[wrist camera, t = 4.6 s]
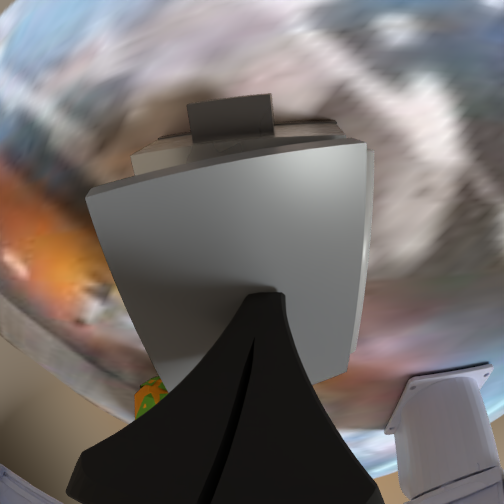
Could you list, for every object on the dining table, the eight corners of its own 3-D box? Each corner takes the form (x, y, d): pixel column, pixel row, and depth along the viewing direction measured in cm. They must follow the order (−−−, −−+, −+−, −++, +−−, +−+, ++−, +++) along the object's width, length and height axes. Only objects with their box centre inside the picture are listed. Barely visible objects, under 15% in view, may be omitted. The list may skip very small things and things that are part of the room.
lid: (349, 345, 14) (373, 379, 12) (180, 397, 13) (189, 440, 11) (364, 133, 9) (412, 148, 7) (94, 182, 8) (75, 213, 6)
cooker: (331, 326, 18) (335, 370, 15) (207, 326, 19) (194, 366, 16) (332, 88, 11) (345, 91, 8) (156, 107, 12) (121, 119, 10)
